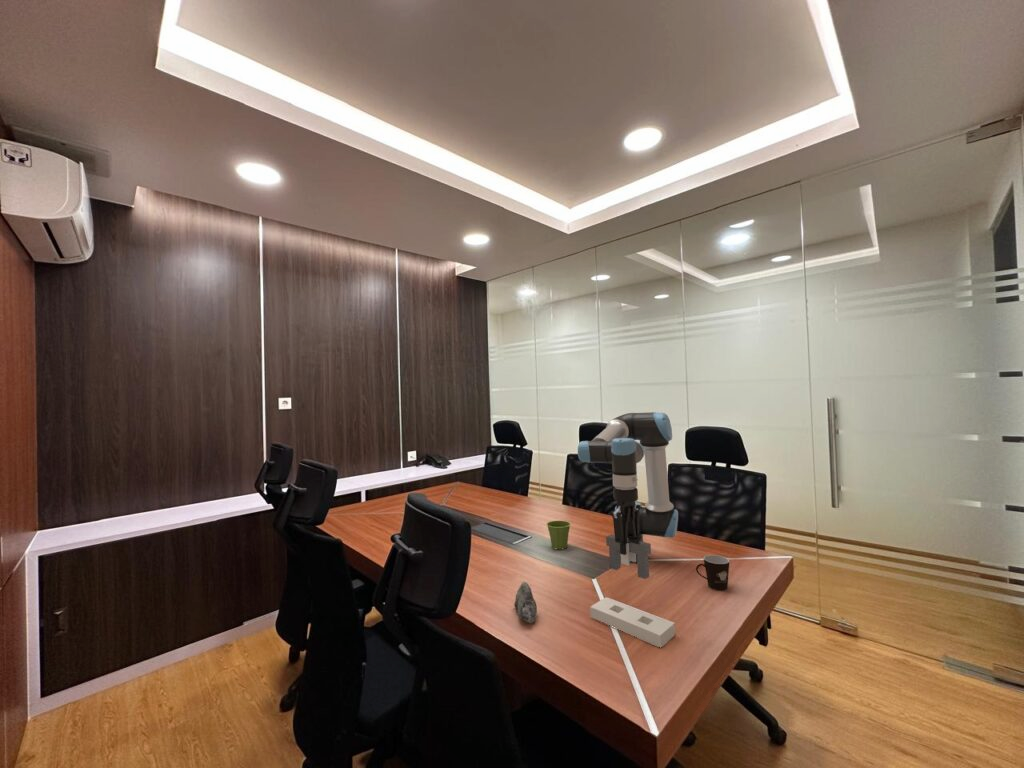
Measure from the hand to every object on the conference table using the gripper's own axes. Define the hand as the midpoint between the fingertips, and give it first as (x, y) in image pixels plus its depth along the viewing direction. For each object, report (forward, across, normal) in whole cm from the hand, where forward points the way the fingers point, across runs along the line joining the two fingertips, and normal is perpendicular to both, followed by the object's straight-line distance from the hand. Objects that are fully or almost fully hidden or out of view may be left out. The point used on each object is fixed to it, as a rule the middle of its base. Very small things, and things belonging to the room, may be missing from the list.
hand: (628, 562), depth 130 cm
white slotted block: (+19, -1, 0) cm, 19 cm away
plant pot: (+19, +37, +61) cm, 74 cm away
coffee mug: (+19, +43, -8) cm, 48 cm away
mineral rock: (+20, -19, +28) cm, 39 cm away
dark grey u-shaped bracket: (+3, 0, 0) cm, 3 cm away
